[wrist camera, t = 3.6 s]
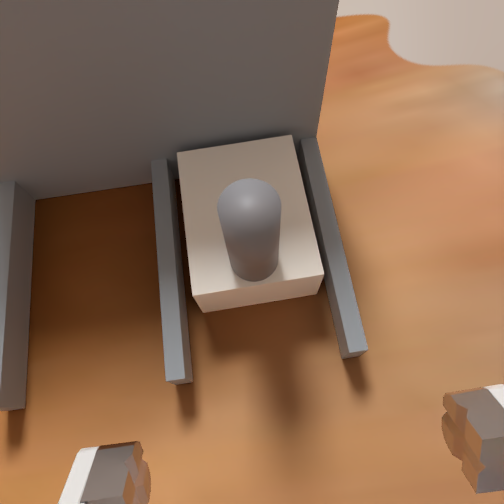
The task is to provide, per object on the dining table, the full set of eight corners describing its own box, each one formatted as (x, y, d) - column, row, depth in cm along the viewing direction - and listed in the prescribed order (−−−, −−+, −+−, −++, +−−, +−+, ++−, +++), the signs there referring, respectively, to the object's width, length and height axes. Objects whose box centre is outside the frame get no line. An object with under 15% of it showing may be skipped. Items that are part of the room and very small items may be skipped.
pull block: (203, 313, 26) (166, 254, 16) (188, 186, 29) (150, 77, 20) (316, 294, 26) (343, 225, 17) (288, 170, 29) (298, 55, 20)
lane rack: (7, 411, 24) (-307, 403, 11) (21, 186, 29) (-177, 1, 16) (358, 356, 24) (462, 285, 11) (309, 144, 30) (340, -69, 17)
